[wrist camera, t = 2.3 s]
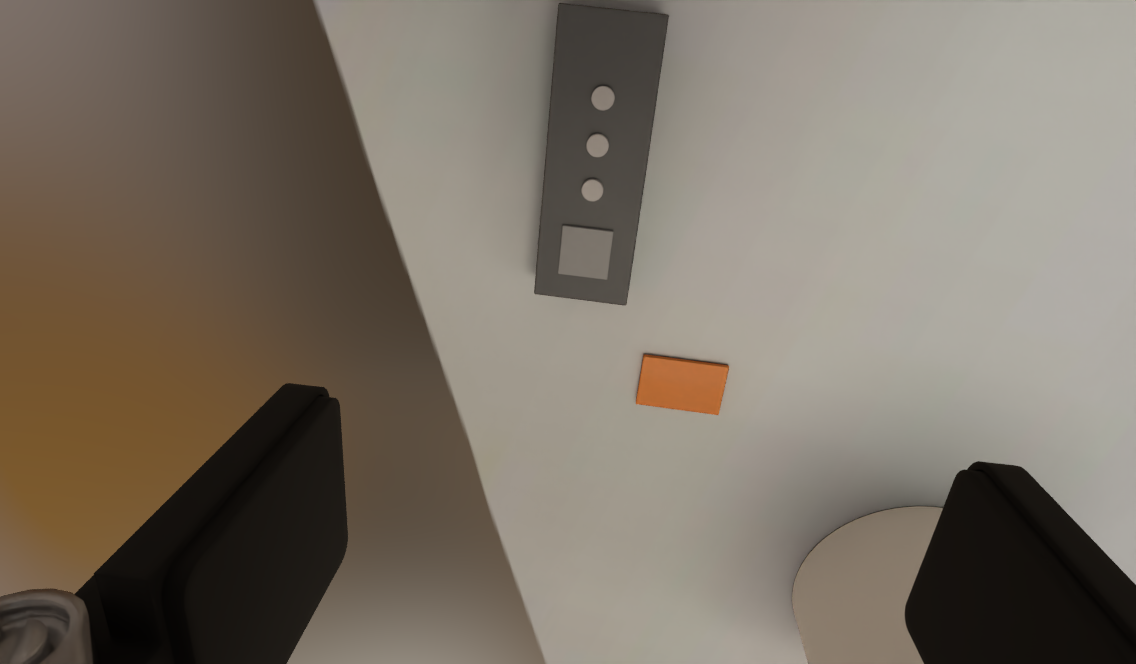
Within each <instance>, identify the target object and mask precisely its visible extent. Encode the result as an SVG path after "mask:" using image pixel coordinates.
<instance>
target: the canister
mask: <svg viewBox="0 0 1136 664" xmlns="http://www.w3.org/2000/svg"><path fill="white" fill-rule="evenodd" d="M942 510H943V508H938V507H922V506H918V507H902V508H895V509H889V510H884V511H880V512H876V513H873V514H870V515H867V516H864V517H861V518H859V519H856V520H854V521H852V522H850V523H848V524H846V525H844V526H842V527H840V528H839V529H837V530H836V531H834V532H833V533H831V534H830V535H828V536H827V537H826V538H824V539H823V540H822V541H821V542H820V543H819V544H818V545H817V546H816V547H815V548H814V549H813V550H812V551H811V552H810V553H809V555H808V556H807V557H806V559H805V560H804V562H803V563H802V565H801V567H800V569H799V571H798V573H797V576H796V578H795V582H794V586H793V593H792V603H793V610H794V614H795V618H796V621H797V625H798V629H799V632H800V636H801V639H802V643H803V647H804V650H805V654H806V658H807V661H808V664H924V663H923V661H922V659H921V657H920V655H919V653H918V650H917V648H916V646H915V644H914V642H913V640H912V638H911V636H910V634H909V632H908V630H907V627H906V622H905V606H906V602H907V600H908V597H909V595H910V592H911V589H912V587H913V584H914V582H915V579H916V577H917V574H918V571H919V569H920V566H921V564H922V561H923V559H924V556H925V553H926V551H927V548H928V546H929V543H930V541H931V538H932V535H933V533H934V530H935V528H936V525H937V523H938V520H939V517H940V515H941V512H942Z"/></svg>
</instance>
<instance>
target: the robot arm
mask: <svg viewBox="0 0 1136 664" xmlns="http://www.w3.org/2000/svg"><path fill="white" fill-rule="evenodd" d="M344 483H345V481H344V465H343V449H342V432H341V416H340V405H339V402H338V400H337V399H336V398H331V397H329V394H328V391H327V389H325V388H324V387H317V386H307V385H299V384H291V383H288V384H285V385H283V386H282V387H281V388H280V389H279V390H278V391H277V392H276V393H275V394H274V395H273V396H272V397H271V398H270V399H269V400H268V401H267V402H266V403H265V404H264V405H263V406H262V407H261V408H260V409H259V410H258V411H257V412H256V413H255V414H254V415H253V416H252V417H251V418H250V419H249V420H248V421H247V422H246V423H245V424H244V425H243V426H242V427H241V428H240V429H239V430H238V431H237V432H236V433H235V434H234V435H233V436H232V437H231V438H230V439H229V440H228V441H227V442H226V443H225V444H224V445H223V446H222V447H221V448H220V449H219V450H218V451H217V452H216V453H215V454H214V455H213V456H212V457H210V458H209V460H208V461H206V463H204V465H202V467H200V468H199V470H197V471H196V472H195V473H194V474H193V475H192V477H191V478H189V479H188V480H187V481H186V482H185V483H184V484H183V485H182V487H180V488H179V490H178V491H176V492H175V493H174V494H173V495H172V496H171V497H170V498H169V499H168V500H167V501H166V502H165V503H164V504H163V505H162V506H161V507H160V508H159V509H158V510H157V511H156V512H155V513H154V514H153V515H152V516H151V517H150V518H149V519H148V520H147V521H146V522H145V523H144V524H143V525H142V526H141V527H140V528H139V529H138V530H137V531H136V532H135V533H134V534H133V535H132V536H131V537H130V538H129V539H128V540H127V541H126V542H125V543H124V544H123V545H122V546H121V547H120V548H119V549H118V550H117V551H116V552H115V553H114V554H113V555H112V556H111V557H110V558H109V559H108V560H107V561H106V562H105V563H104V564H103V565H102V566H101V567H100V568H99V569H98V570H97V571H96V572H95V573H94V575H93V576H92V577H91V578H90V580H88V581H87V582H86V583H85V584H84V585H83V587H81V588H80V589H79V590H78V591H77V592H76V593H75V594H73V593H71V592H67V591H62V590H57V589H32V590H26V591H21V592H17V593H13V594H8V595H4V596H1V597H0V664H286V663H287V662H288V660H289V658H290V656H291V654H292V652H293V651H294V649H295V647H296V645H297V643H298V641H299V639H300V638H301V636H302V634H303V632H304V630H305V629H306V627H307V625H308V623H309V621H310V619H311V617H312V615H313V614H314V612H315V610H316V608H317V607H318V604H319V603H320V601H321V599H322V597H323V595H324V594H325V592H326V590H327V588H328V586H329V584H330V582H331V580H332V579H333V577H334V575H335V573H336V572H337V570H338V568H339V566H340V564H341V563H342V560H343V558H344V555H345V552H346V548H347V542H348V530H347V516H346V515H347V514H346V497H345V484H344ZM905 622H906V627H907V630H908V632H909V634H910V636H911V638H912V640H913V642H914V644H915V646H916V648H917V650H918V653H919V655H920V657H921V659H922V661H923V663H924V664H1136V585H1135V584H1134V583H1133V582H1132V581H1131V580H1130V579H1129V578H1128V576H1127V575H1126V574H1125V573H1124V572H1123V571H1122V570H1121V569H1120V568H1119V567H1118V566H1117V565H1116V564H1115V563H1114V562H1113V561H1112V560H1111V559H1110V558H1109V557H1108V556H1107V555H1106V553H1105V552H1104V551H1103V550H1102V549H1101V548H1100V547H1099V546H1098V545H1097V544H1096V543H1095V542H1094V541H1093V540H1092V539H1091V538H1090V537H1089V536H1088V535H1087V534H1086V533H1085V532H1084V530H1083V529H1082V528H1081V527H1080V526H1079V525H1078V524H1077V523H1076V522H1075V521H1074V520H1073V519H1072V518H1071V517H1070V516H1069V515H1068V514H1067V513H1066V512H1065V511H1064V510H1063V509H1062V508H1061V506H1060V505H1059V504H1058V503H1057V502H1056V501H1055V500H1054V499H1053V498H1052V497H1051V496H1050V495H1049V494H1048V493H1047V492H1046V491H1045V490H1044V489H1043V488H1042V487H1041V486H1040V485H1039V483H1038V482H1037V481H1036V480H1035V479H1034V478H1033V477H1032V476H1031V475H1030V474H1029V473H1028V472H1027V471H1026V470H1025V469H1023V468H1022V467H1019V466H1014V465H1005V464H996V463H988V462H979V461H978V462H975V463H973V464H972V465H971V466H970V467H969V468H968V470H961V471H960V472H959V473H958V474H957V475H956V477H955V479H954V482H953V484H952V487H951V489H950V492H949V494H948V497H947V500H946V502H945V505H944V507H943V510H942V512H941V515H940V517H939V520H938V523H937V525H936V528H935V530H934V533H933V535H932V538H931V541H930V543H929V546H928V548H927V551H926V553H925V556H924V559H923V561H922V564H921V566H920V569H919V571H918V574H917V577H916V579H915V582H914V584H913V587H912V589H911V592H910V595H909V597H908V600H907V602H906V606H905Z"/></svg>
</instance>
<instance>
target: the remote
mask: <svg viewBox="0 0 1136 664" xmlns="http://www.w3.org/2000/svg"><path fill="white" fill-rule="evenodd" d="M668 18H669V15H666V14H657V13H648V12H638V11H629V10H620V9H611V8H601V7H592V6H583V5H573V4H564V3H559V5H558V16H557V28H556V40H555V52H554V64H553V76H552V87H551V99H550V111H549V123H548V135H547V147H546V159H545V171H544V183H543V195H542V207H541V219H540V230H539V242H538V254H537V266H536V278H535V290H534V293H535V294H540V295H548V296H556V297H563V298H571V299H579V300H587V301H595V302H602V303H610V304H618V305H626V304H627V297H628V290H629V284H630V277H631V270H632V263H633V256H634V249H635V243H636V236H637V229H638V222H639V215H640V209H641V202H642V195H643V188H644V181H645V175H646V168H647V161H648V154H649V147H650V141H651V134H652V127H653V120H654V113H655V106H656V100H657V93H658V86H659V79H660V72H661V66H662V59H663V52H664V45H665V38H666V32H667V25H668Z"/></svg>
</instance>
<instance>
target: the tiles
mask: <svg viewBox="0 0 1136 664" xmlns="http://www.w3.org/2000/svg"><path fill="white" fill-rule="evenodd" d="M728 370H729V366H728V365H722V364H715V363H707V362H700V361H692V360H684V359H677V358H669V357H662V356H654V355H646V354H644V356H643V362H642V368H641V374H640V380H639V386H638V392H637V398H636V404H641V405H648V406H655V407H663V408H670V409H678V410H685V411H692V412H700V413H707V414H715V415H718V414H719V410H720V405H721V401H722V396H723V392H724V387H725V383H726V379H727V374H728Z"/></svg>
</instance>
